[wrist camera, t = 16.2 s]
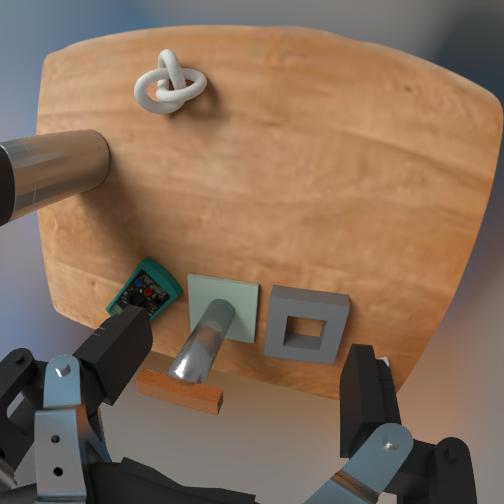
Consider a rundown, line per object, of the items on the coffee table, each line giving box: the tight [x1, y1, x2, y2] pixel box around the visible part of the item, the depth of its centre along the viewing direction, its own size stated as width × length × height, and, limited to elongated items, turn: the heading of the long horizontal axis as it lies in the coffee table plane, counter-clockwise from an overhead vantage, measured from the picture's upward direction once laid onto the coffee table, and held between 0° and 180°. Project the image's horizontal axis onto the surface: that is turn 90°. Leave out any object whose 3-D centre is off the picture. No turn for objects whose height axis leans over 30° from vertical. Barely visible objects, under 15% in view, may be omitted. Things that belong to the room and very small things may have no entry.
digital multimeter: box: [106, 257, 182, 322], centre depth 44 cm, size 7×15×3 cm, turn 136°
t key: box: [135, 299, 235, 415], centre depth 34 cm, size 9×4×17 cm, turn 87°
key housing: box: [264, 285, 350, 365], centre depth 39 cm, size 10×10×3 cm
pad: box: [187, 273, 259, 344], centre depth 42 cm, size 10×10×1 cm
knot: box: [134, 49, 207, 114], centre depth 29 cm, size 8×8×6 cm
